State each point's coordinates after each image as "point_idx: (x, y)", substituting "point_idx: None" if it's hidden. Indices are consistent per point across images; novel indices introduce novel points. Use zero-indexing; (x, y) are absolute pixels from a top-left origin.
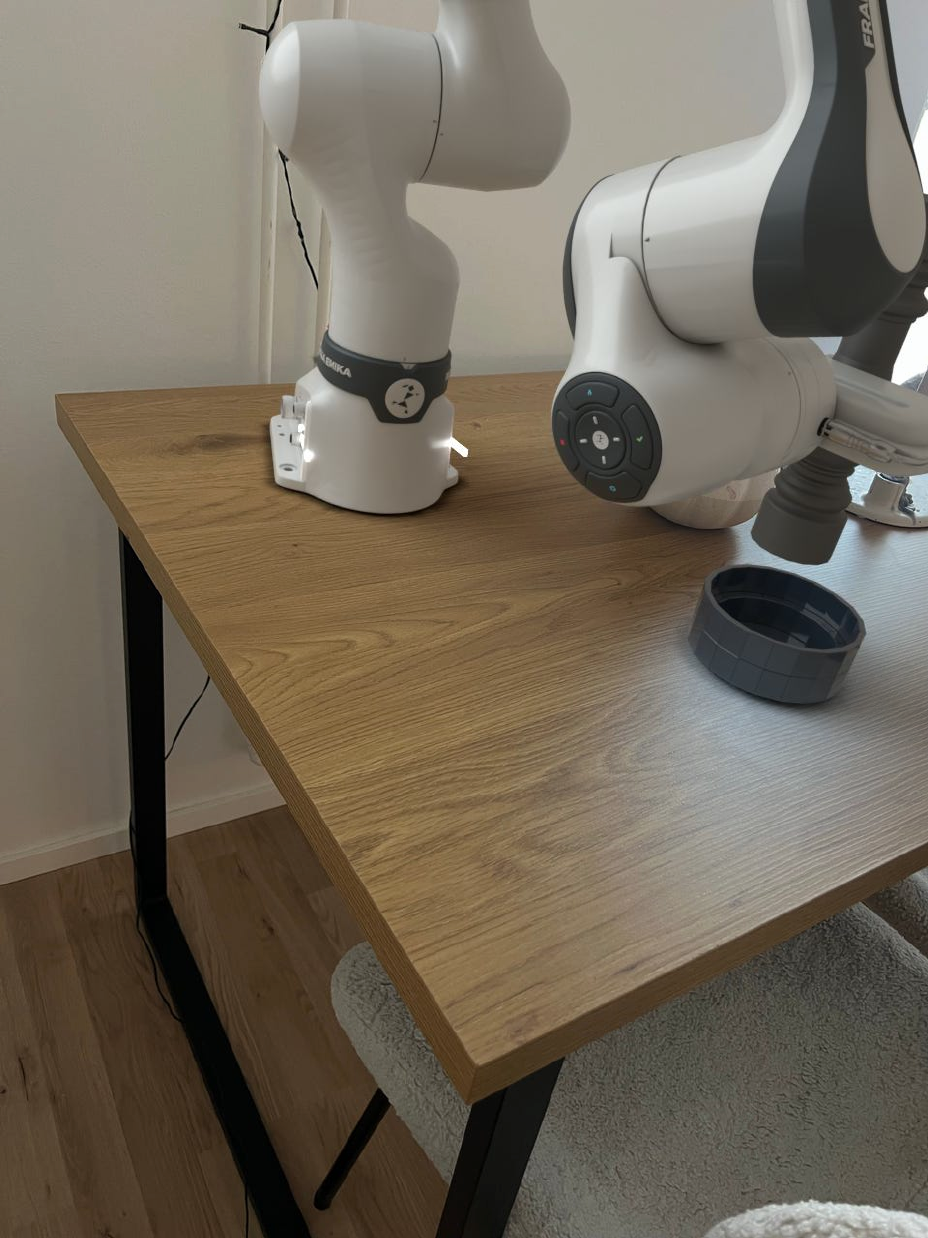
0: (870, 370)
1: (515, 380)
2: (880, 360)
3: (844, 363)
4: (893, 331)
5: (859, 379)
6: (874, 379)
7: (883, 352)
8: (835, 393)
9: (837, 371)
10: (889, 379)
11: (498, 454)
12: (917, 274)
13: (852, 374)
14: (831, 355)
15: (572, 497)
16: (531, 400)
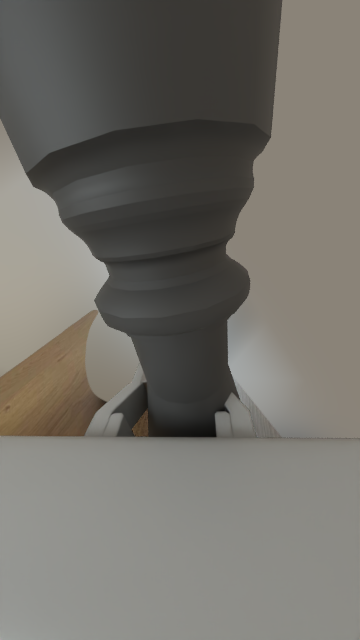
0: (216, 399)
1: (30, 359)
2: (221, 380)
3: (173, 411)
4: (220, 338)
5: (297, 590)
6: (291, 496)
7: (220, 370)
8: None
9: (216, 595)
10: (231, 375)
11: (20, 423)
12: (231, 203)
13: (249, 545)
14: (141, 367)
15: (66, 425)
16: (38, 366)
